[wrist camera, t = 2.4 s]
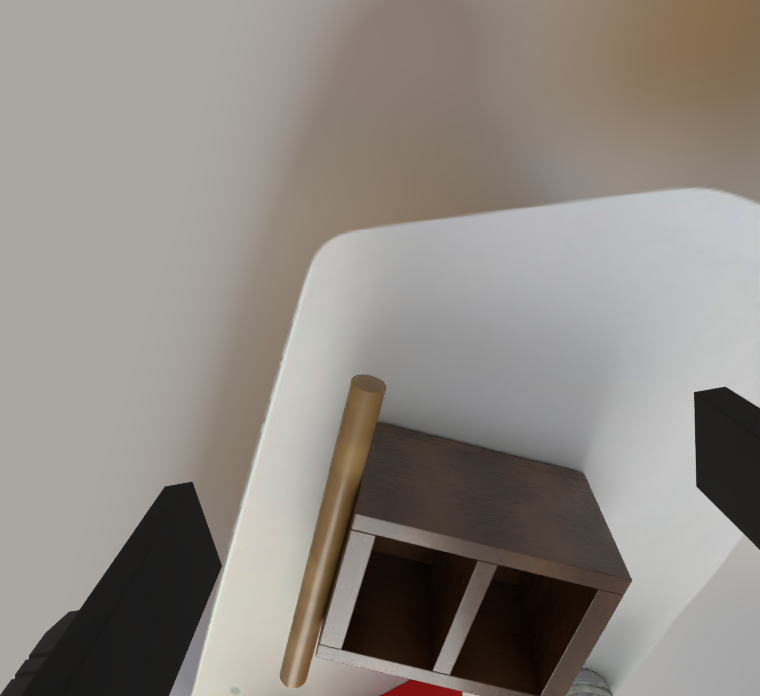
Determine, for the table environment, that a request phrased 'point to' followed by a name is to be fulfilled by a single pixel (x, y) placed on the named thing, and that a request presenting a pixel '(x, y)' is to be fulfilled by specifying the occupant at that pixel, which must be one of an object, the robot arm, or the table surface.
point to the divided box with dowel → (452, 563)
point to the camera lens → (589, 685)
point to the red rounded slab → (421, 690)
